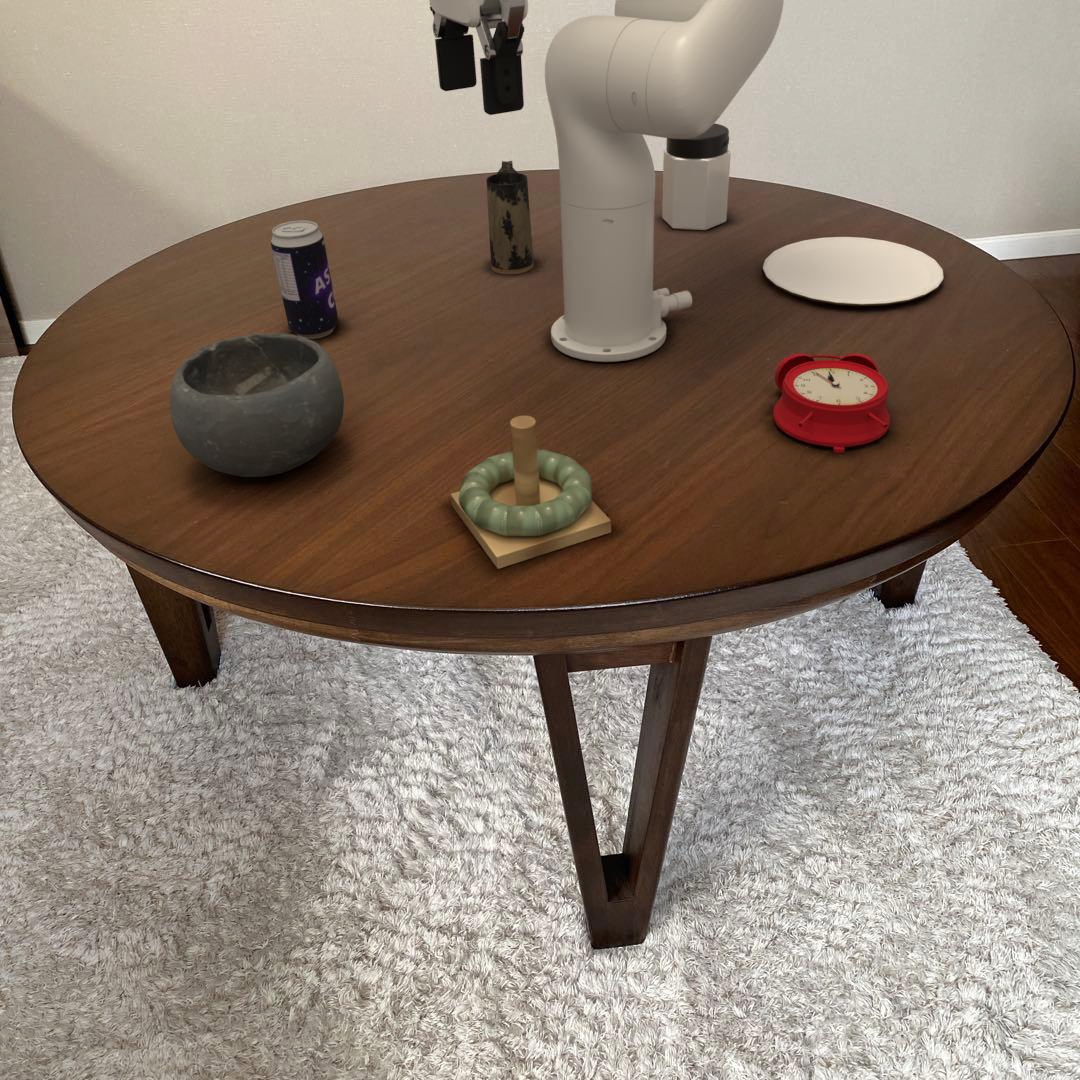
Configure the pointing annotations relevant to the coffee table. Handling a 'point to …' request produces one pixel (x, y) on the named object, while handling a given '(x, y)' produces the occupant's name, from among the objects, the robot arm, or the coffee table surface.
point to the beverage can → (304, 278)
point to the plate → (853, 271)
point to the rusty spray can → (509, 221)
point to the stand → (529, 493)
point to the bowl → (257, 403)
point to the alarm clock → (831, 400)
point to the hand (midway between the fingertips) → (480, 99)
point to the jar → (696, 180)
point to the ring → (526, 517)
